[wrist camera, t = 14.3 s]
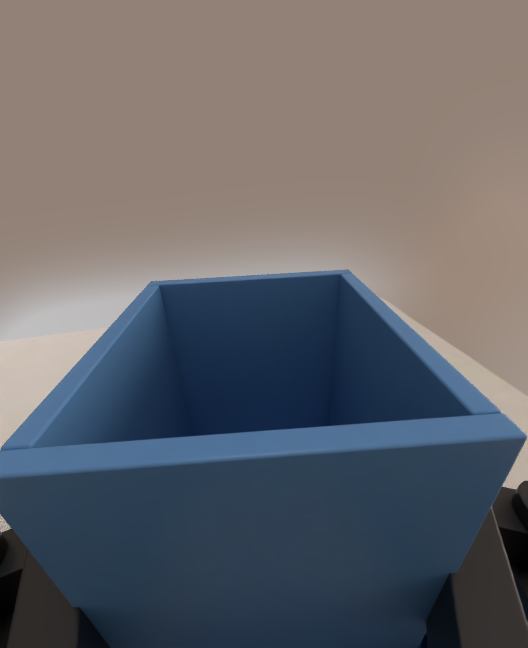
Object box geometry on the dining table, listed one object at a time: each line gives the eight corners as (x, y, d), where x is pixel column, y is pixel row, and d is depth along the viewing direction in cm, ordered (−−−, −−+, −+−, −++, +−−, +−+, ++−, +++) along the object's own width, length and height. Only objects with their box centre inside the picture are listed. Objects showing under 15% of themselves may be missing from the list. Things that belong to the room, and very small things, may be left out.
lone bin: (392, 700, 10) (530, 436, 4) (161, 723, 10) (-30, 478, 4) (330, 476, 18) (348, 269, 12) (198, 486, 18) (150, 281, 12)
